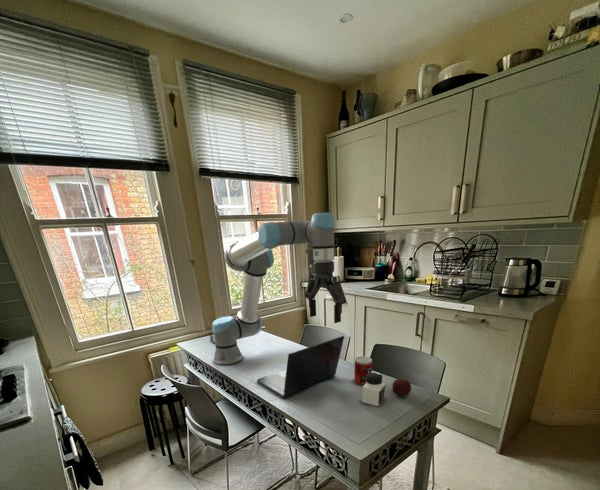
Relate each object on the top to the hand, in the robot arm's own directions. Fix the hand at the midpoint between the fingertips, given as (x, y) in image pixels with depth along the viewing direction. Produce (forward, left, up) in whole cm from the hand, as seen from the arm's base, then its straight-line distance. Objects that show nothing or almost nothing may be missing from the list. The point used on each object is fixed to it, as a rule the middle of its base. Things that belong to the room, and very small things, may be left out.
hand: (324, 319), depth 121 cm
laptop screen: (-7, 0, -21) cm, 23 cm away
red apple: (+21, +23, -34) cm, 46 cm away
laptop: (-21, 0, -33) cm, 39 cm away
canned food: (+2, +21, -34) cm, 40 cm away
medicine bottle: (+16, +11, -34) cm, 39 cm away
